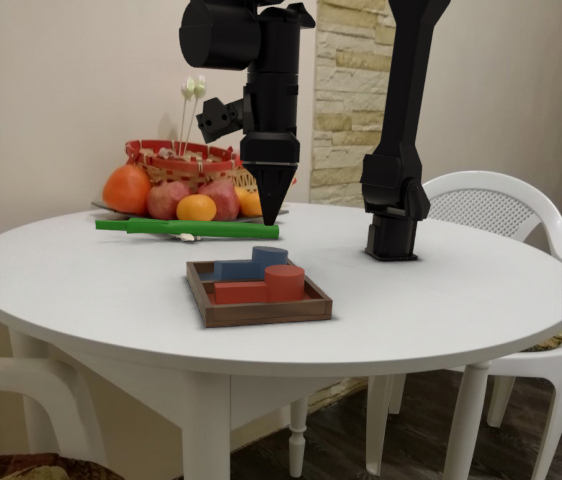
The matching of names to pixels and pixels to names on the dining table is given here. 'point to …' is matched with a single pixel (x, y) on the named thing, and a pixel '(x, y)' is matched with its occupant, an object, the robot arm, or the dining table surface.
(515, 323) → the dining table surface
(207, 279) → the sorting tray
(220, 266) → the blue cylinder with handle
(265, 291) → the red cylinder-ended block
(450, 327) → the dining table surface
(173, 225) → the green stepped bar
